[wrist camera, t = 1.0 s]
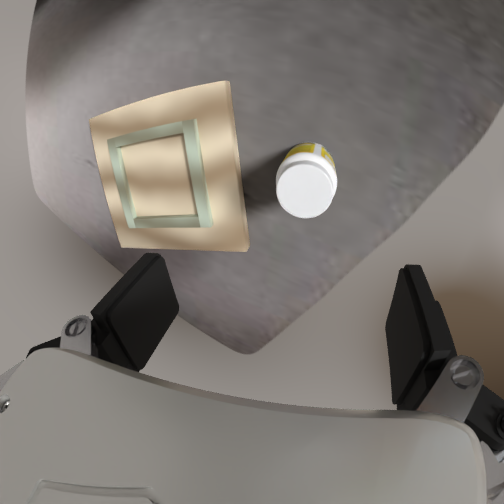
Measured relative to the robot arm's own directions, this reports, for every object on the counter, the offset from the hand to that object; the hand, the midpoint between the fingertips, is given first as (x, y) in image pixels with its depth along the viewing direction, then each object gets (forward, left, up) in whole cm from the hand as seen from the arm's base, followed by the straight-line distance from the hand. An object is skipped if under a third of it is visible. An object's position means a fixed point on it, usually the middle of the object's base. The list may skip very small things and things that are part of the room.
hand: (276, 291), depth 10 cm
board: (-1, -16, -18) cm, 24 cm away
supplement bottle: (-1, 0, -19) cm, 19 cm away
